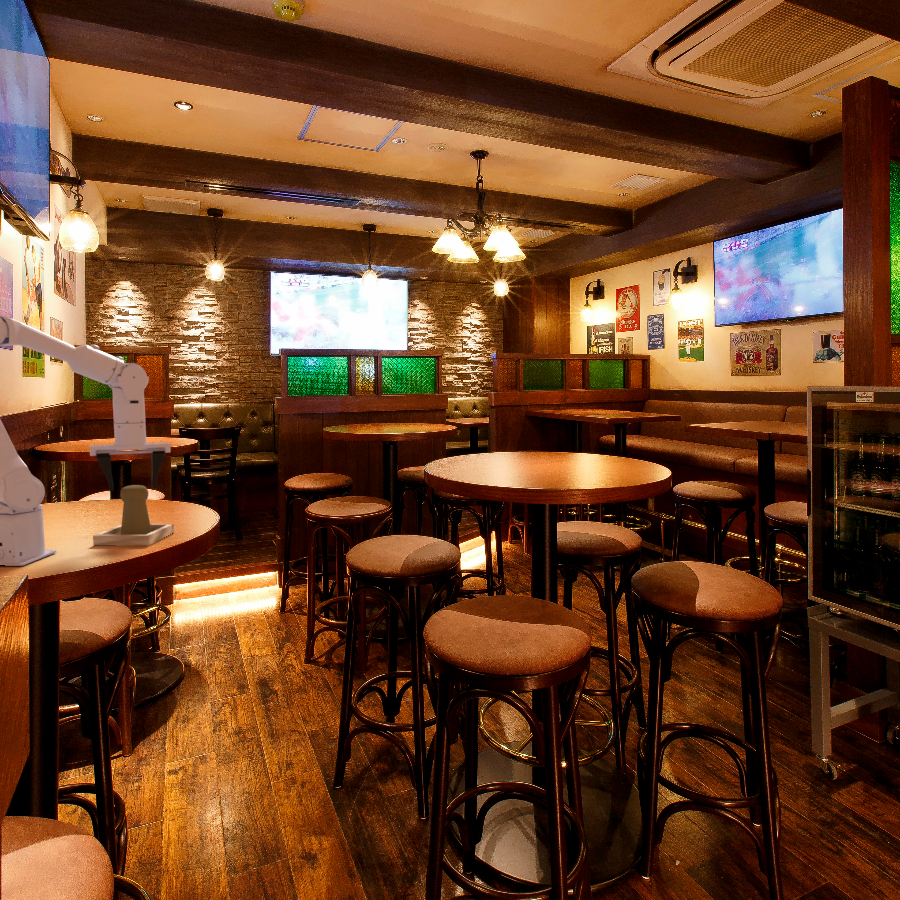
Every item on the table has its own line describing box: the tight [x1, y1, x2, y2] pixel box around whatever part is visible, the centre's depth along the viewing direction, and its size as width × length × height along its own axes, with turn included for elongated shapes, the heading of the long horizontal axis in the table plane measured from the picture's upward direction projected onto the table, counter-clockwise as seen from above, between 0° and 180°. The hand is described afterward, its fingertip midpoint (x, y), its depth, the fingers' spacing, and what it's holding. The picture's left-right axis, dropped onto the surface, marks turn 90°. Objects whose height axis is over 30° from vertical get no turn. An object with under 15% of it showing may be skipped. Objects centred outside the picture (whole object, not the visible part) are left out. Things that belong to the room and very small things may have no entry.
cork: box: [119, 484, 152, 535], centre depth 128 cm, size 6×6×11 cm
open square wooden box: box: [92, 523, 175, 547], centre depth 127 cm, size 11×11×2 cm
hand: (133, 489), depth 126 cm, fingers open, 7 cm apart
